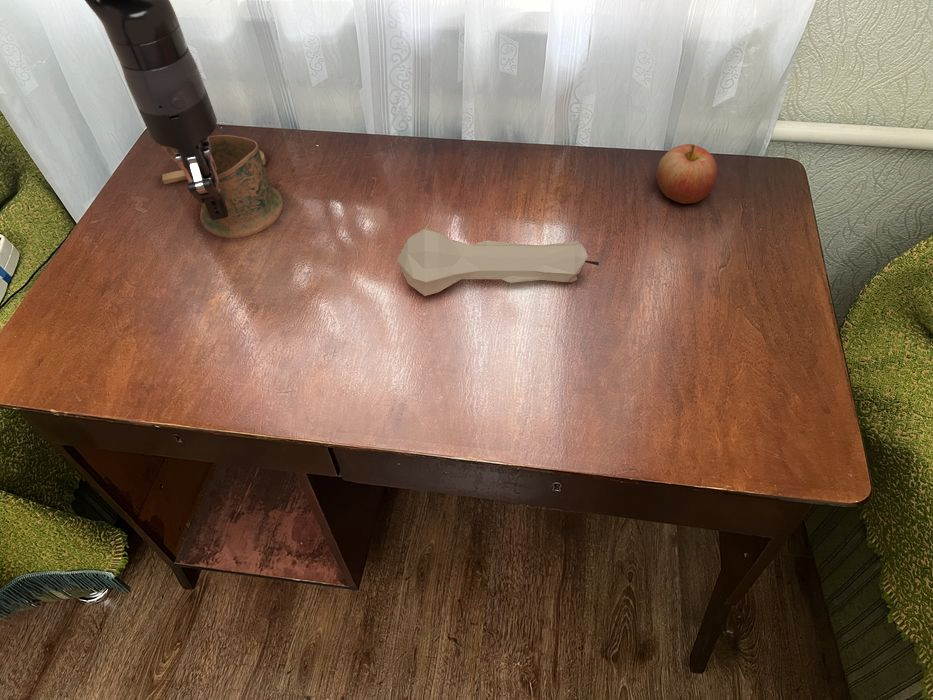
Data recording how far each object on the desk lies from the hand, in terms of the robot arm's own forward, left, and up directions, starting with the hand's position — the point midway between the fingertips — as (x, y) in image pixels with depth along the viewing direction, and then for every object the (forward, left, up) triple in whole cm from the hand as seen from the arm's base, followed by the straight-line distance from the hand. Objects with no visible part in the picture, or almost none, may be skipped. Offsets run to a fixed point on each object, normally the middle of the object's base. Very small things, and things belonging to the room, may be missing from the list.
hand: (220, 215), depth 90 cm
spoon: (0, +18, -6) cm, 19 cm away
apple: (+62, -11, -6) cm, 63 cm away
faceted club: (+32, -19, -6) cm, 37 cm away
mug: (0, +10, -6) cm, 11 cm away
